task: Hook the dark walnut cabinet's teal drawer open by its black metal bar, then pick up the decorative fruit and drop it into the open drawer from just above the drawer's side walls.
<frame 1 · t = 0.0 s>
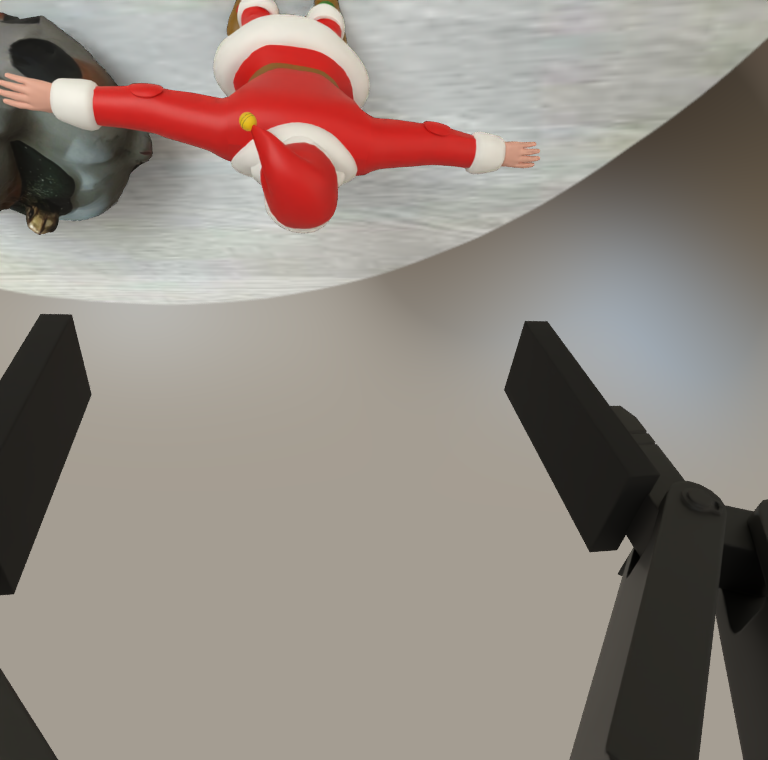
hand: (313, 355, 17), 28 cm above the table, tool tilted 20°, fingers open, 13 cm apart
santa figurine: (290, 5, 34), on the table
lucky cat figurine: (26, 109, 38), on the table
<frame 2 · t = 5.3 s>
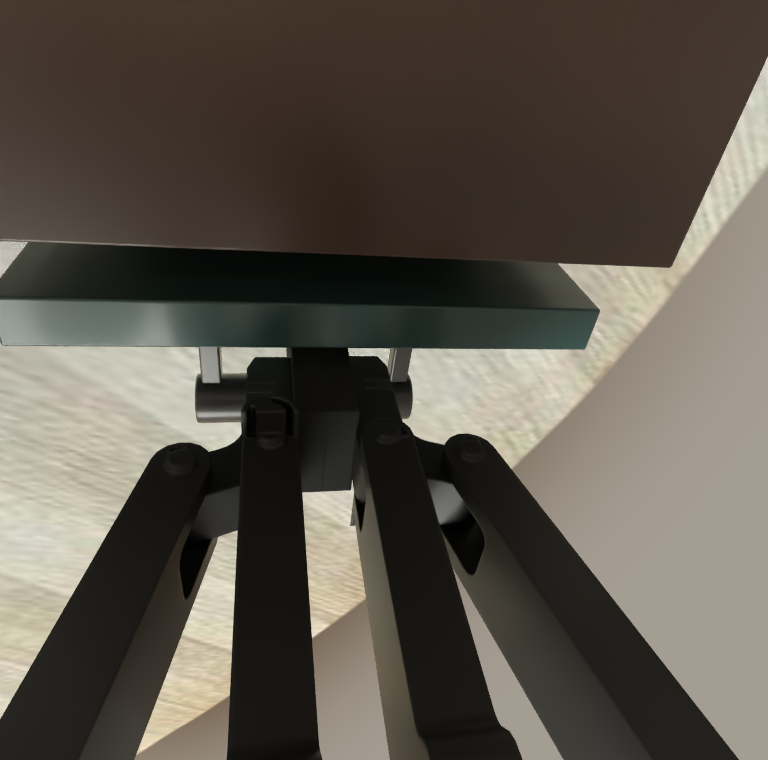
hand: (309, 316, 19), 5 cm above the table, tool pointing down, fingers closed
drawer: (321, 48, 13), point 5 cm above the table, slide at 1.6 cm, touching gripper
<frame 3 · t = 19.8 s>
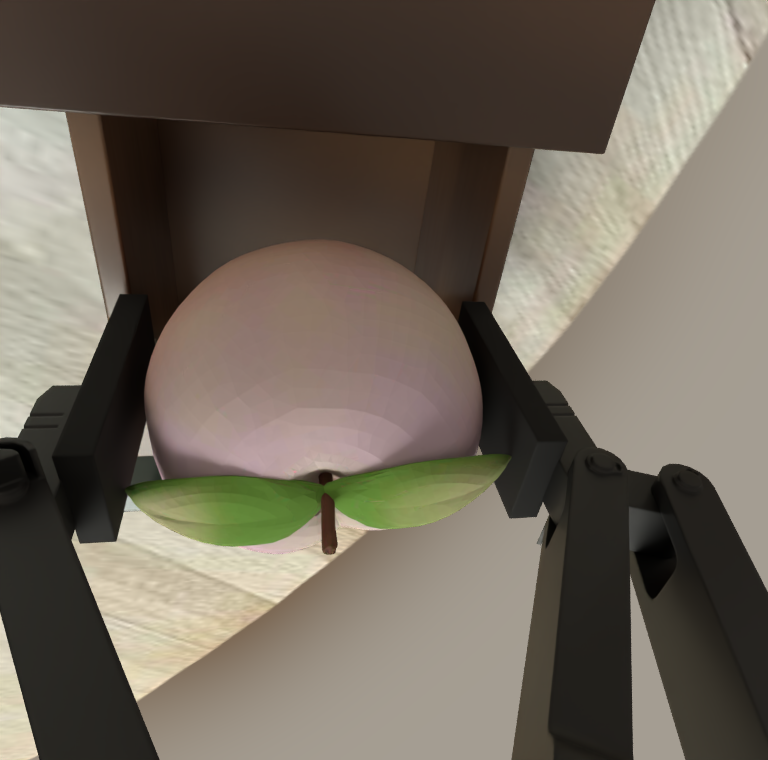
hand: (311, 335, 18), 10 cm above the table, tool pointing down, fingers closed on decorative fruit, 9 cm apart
decorative fruit: (305, 299, 20), point 8 cm above the table, touching gripper
drawer: (302, 325, 23), point 5 cm above the table, slide at 13.1 cm, touching gripper
when the fingers open (11 cm above the table, at t = 31.4 s): decorative fruit drops 4 cm, resting on drawer.
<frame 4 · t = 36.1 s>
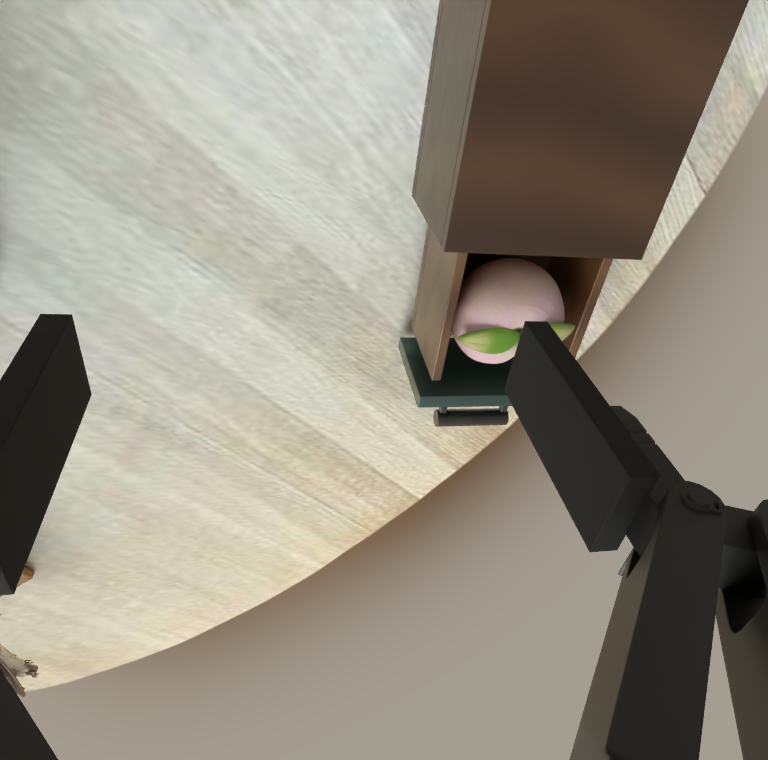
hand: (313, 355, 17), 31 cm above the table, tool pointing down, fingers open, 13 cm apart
cabinet: (524, 83, 42), on the table
decorative fruit: (486, 279, 50), point 2 cm above the table, touching drawer
drawer: (493, 322, 49), point 5 cm above the table, slide at 13.1 cm, touching decorative fruit
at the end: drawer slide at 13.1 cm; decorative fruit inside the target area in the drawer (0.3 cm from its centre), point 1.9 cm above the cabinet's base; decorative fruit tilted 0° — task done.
